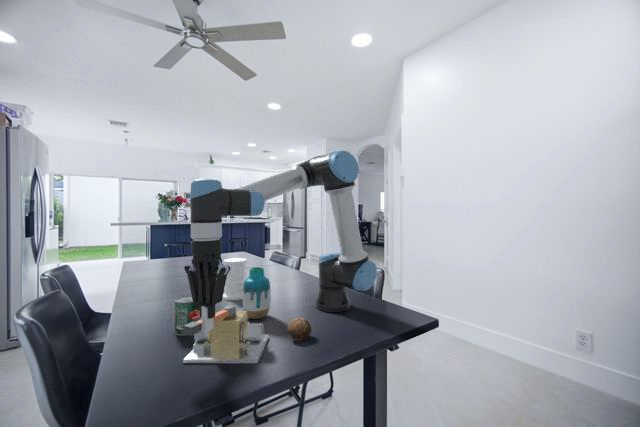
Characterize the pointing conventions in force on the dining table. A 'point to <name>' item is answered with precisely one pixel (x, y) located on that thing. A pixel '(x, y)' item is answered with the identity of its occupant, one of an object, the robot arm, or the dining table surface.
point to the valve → (229, 342)
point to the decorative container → (235, 278)
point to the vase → (256, 294)
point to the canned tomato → (185, 313)
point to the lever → (225, 313)
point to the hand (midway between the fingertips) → (207, 330)
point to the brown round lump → (299, 329)
